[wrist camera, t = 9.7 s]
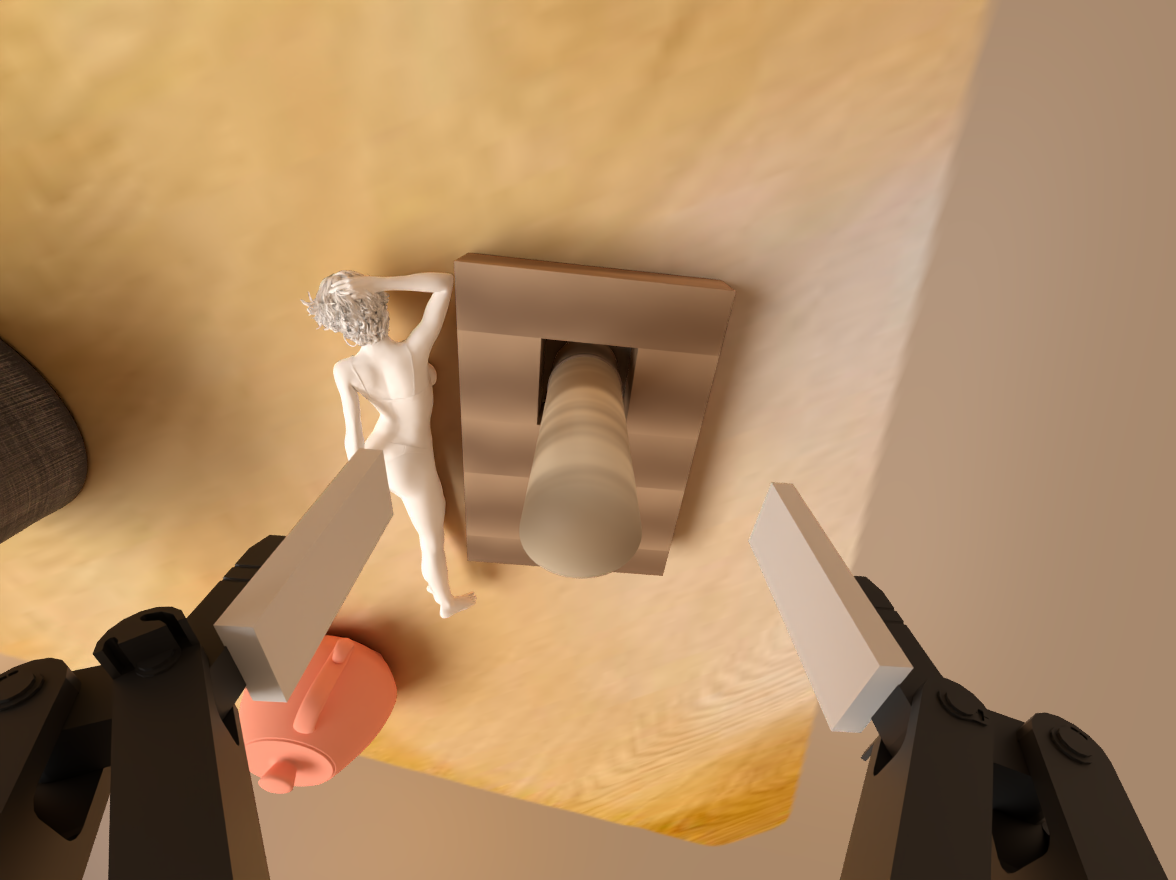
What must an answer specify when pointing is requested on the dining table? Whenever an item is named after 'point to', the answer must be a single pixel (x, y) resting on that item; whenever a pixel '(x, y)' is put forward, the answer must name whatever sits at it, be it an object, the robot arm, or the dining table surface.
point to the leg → (582, 470)
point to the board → (515, 380)
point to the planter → (34, 447)
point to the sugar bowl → (319, 717)
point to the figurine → (395, 399)
